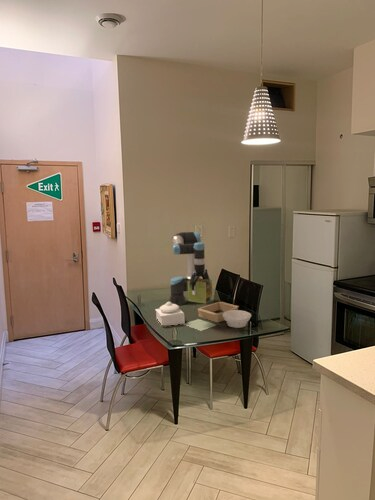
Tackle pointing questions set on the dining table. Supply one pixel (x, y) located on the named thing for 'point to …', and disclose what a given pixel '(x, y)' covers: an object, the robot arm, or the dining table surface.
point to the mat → (199, 324)
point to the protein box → (201, 291)
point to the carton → (208, 310)
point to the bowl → (236, 318)
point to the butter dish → (170, 314)
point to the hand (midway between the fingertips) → (200, 292)
